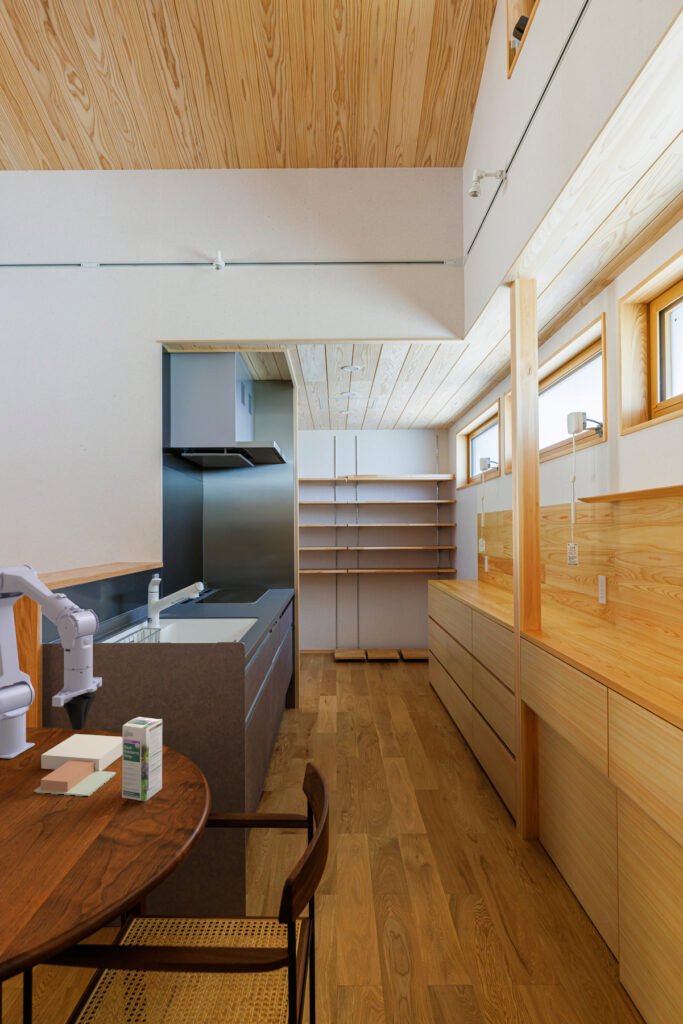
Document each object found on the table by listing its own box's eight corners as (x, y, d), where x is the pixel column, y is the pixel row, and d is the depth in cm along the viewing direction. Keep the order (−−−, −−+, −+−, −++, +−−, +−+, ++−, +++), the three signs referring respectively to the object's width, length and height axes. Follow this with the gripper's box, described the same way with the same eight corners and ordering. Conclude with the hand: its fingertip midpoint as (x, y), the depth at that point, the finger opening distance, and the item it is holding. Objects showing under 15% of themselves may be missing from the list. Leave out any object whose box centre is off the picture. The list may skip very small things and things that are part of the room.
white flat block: (41, 768, 124) (41, 754, 124) (75, 746, 136) (75, 734, 136) (99, 772, 122) (99, 758, 122) (128, 749, 134) (128, 737, 134)
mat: (33, 792, 113) (33, 790, 113) (65, 770, 123) (65, 768, 123) (88, 797, 111) (88, 795, 111) (116, 774, 121) (116, 772, 121)
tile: (40, 789, 113) (40, 779, 113) (69, 769, 122) (68, 760, 122) (67, 791, 113) (67, 781, 113) (94, 771, 121) (94, 762, 121)
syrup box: (120, 798, 111) (120, 725, 111) (139, 784, 116) (139, 714, 116) (145, 802, 109) (145, 728, 109) (163, 788, 115) (163, 717, 115)
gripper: (73, 677, 115) (73, 743, 115) (114, 659, 129) (113, 717, 129) (43, 675, 116) (43, 740, 116) (86, 657, 130) (86, 716, 130)
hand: (78, 728), depth 123 cm, fingers closed
